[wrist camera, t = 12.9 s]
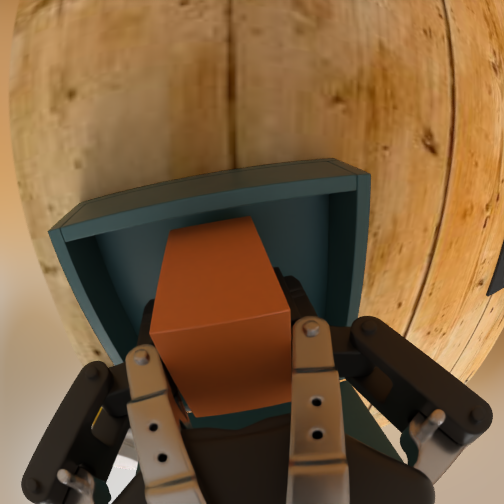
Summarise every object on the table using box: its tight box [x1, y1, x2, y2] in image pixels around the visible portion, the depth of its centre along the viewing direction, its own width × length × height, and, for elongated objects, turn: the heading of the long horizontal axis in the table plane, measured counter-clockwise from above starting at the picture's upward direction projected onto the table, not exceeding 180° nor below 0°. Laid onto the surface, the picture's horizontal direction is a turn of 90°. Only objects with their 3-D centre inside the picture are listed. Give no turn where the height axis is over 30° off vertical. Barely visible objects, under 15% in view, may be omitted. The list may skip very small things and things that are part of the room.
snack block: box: [149, 216, 292, 417], centre depth 12 cm, size 5×4×7 cm
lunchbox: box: [48, 158, 371, 411], centre depth 17 cm, size 16×16×4 cm
